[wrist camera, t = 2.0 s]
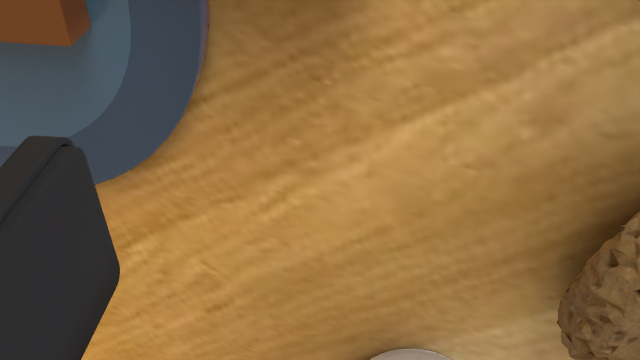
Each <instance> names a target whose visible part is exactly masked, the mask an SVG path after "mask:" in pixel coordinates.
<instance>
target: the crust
mask: <svg viewBox="0 0 640 360" xmlns="http://www.w3.org/2000/svg"><path fill="white" fill-rule="evenodd" d="M90 27H91V23H90V19H89V15H88V10H87V6H86V2H85V0H0V42H9V43H23V44H38V45H52V46H66V47H71V46H72V45H73V44H74V43H75V42H76V41H77V40H78V39H79V38H80V37H81V36H82V35H83V34H84V33H85V32H86V31H87V30H88V29H89V28H90Z"/></svg>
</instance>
